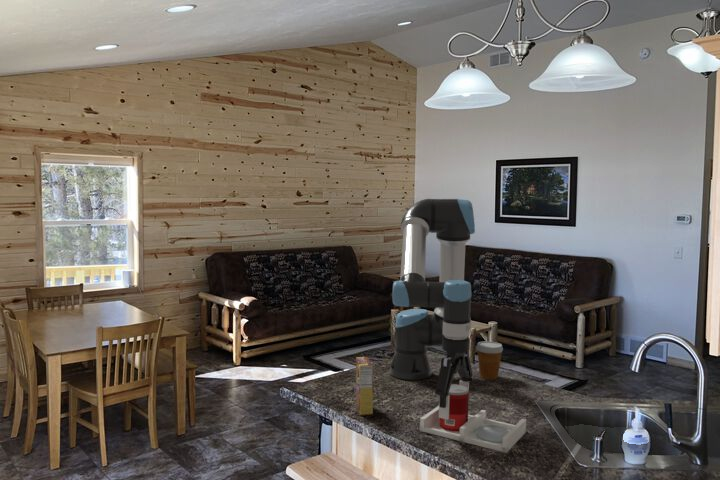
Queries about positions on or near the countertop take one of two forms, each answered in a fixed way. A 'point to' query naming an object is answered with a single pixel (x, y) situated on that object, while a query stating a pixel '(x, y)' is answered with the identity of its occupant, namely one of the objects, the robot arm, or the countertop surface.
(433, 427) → the rack
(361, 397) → the candy box
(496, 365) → the disposable coffee cup
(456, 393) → the canned food
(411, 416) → the countertop surface
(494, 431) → the saucer
